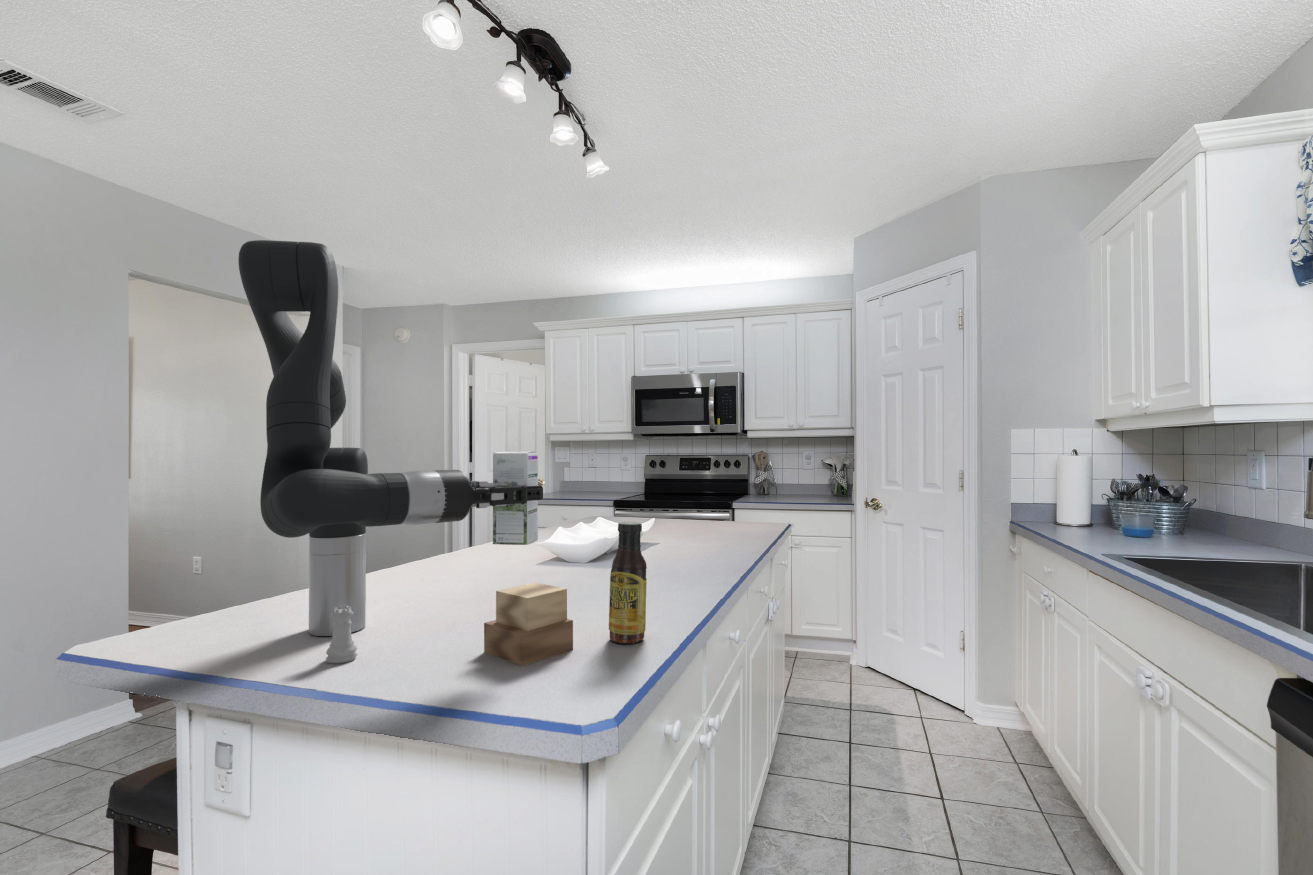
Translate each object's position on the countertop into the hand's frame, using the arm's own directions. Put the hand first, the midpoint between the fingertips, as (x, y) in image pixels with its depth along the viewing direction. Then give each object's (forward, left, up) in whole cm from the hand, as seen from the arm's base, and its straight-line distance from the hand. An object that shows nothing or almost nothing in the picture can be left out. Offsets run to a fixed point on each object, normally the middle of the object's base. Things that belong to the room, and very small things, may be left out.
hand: (526, 491), depth 98 cm
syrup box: (0, -2, -8) cm, 8 cm away
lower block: (0, +1, -26) cm, 26 cm away
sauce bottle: (+8, +15, -26) cm, 31 cm away
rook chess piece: (-19, -21, -26) cm, 38 cm away
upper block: (0, +1, -21) cm, 21 cm away
